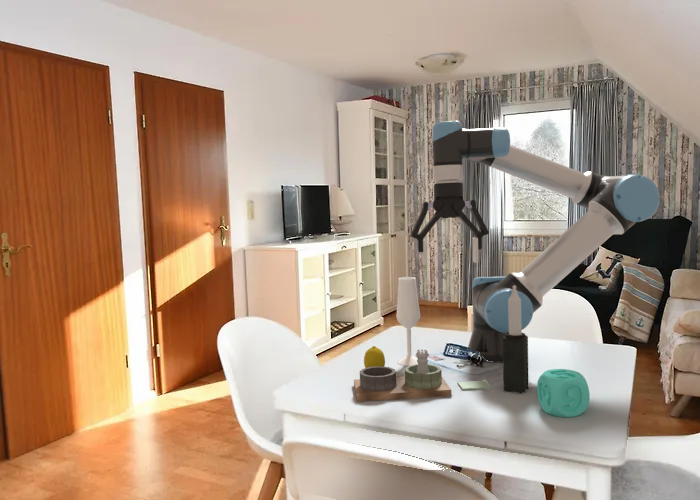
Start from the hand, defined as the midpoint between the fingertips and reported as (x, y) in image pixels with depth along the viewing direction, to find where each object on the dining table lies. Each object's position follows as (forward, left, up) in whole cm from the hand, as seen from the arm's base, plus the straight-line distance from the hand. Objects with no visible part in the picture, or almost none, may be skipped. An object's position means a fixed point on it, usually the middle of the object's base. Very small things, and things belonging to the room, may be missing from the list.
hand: (450, 263), depth 156 cm
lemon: (+21, +1, -29) cm, 36 cm away
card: (-2, +14, -29) cm, 32 cm away
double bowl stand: (+16, +14, -29) cm, 36 cm away
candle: (-11, +18, -29) cm, 36 cm away
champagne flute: (+10, -10, -29) cm, 32 cm away
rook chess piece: (+11, +14, -27) cm, 32 cm away
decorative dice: (-16, +33, -29) cm, 47 cm away
